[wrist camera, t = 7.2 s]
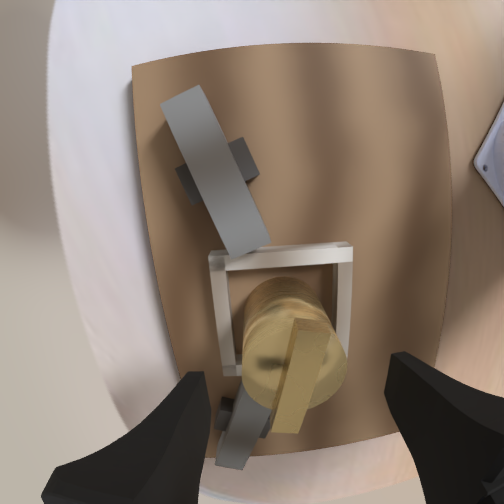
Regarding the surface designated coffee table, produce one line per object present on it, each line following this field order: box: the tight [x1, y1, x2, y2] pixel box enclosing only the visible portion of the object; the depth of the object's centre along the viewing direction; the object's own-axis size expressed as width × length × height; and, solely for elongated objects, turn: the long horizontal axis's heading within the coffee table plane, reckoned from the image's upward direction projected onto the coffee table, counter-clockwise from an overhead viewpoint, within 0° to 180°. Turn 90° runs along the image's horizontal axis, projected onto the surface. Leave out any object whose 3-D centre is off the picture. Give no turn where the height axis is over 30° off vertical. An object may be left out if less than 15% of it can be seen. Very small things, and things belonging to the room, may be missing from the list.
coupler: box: [242, 276, 347, 434], centre depth 15 cm, size 5×4×7 cm
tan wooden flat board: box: [132, 43, 452, 470], centre depth 17 cm, size 18×28×4 cm, turn 6°
